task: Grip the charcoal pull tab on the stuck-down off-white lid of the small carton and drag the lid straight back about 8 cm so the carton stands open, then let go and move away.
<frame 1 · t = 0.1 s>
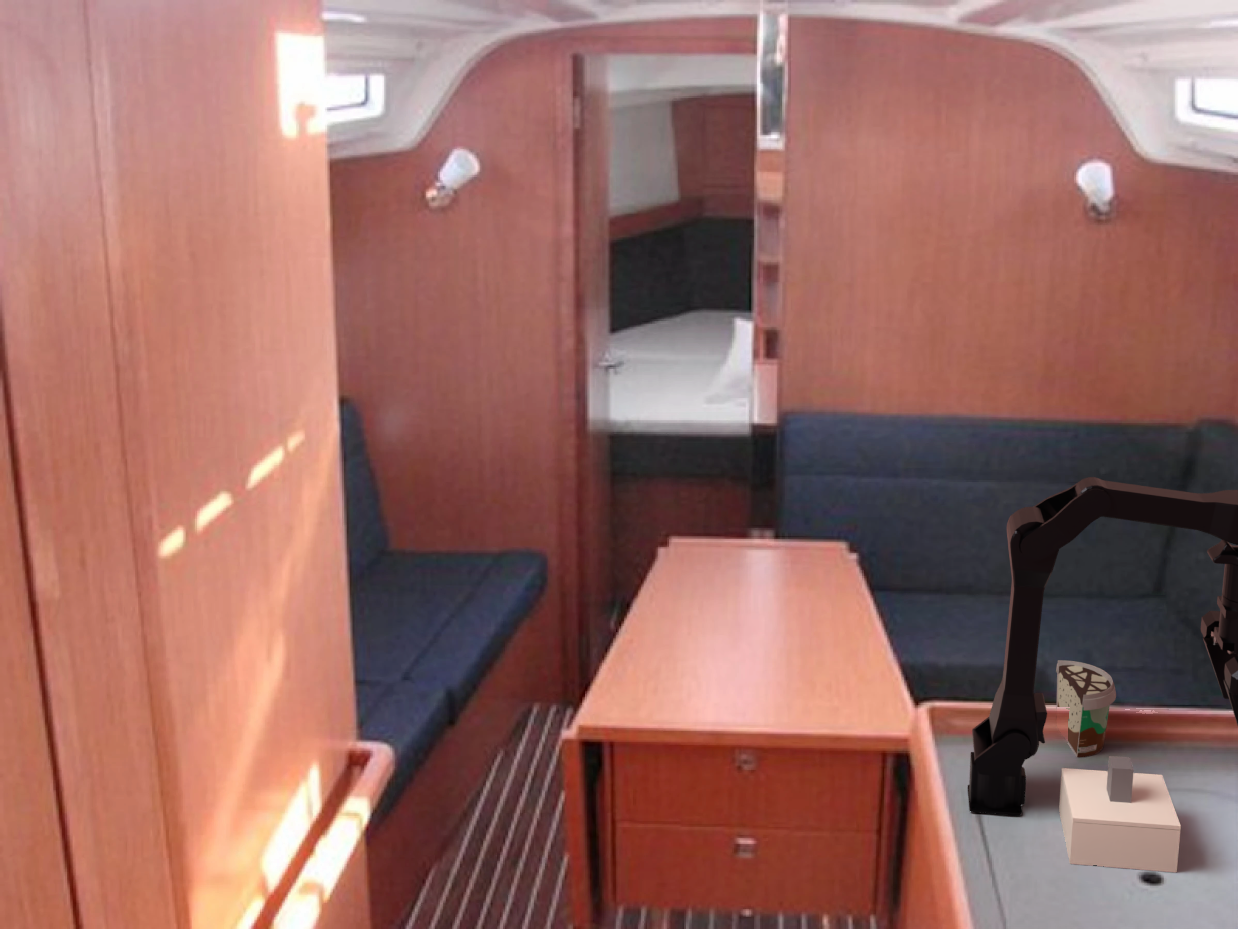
hand: (1236, 715, 160), 15 cm above the counter, tool pointing down, fingers open, 9 cm apart
lid: (1119, 781, 158), point 8 cm above the counter, slide at 0.0 cm
food container: (1088, 742, 185), on the counter
carton: (1115, 840, 160), on the counter
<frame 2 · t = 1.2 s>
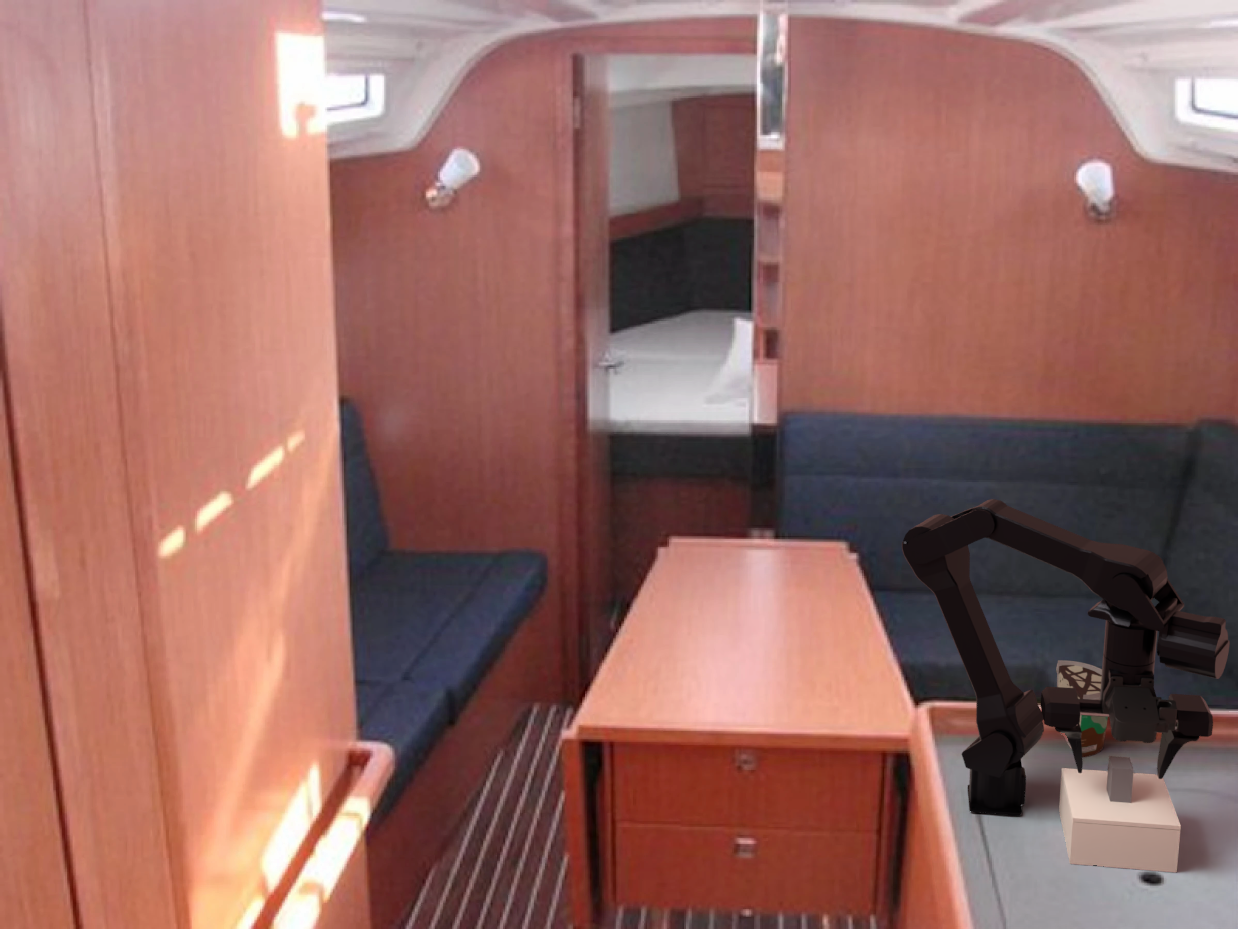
hand: (1119, 774, 158), 9 cm above the counter, tool pointing down, fingers open, 9 cm apart
nothing on the counter moved.
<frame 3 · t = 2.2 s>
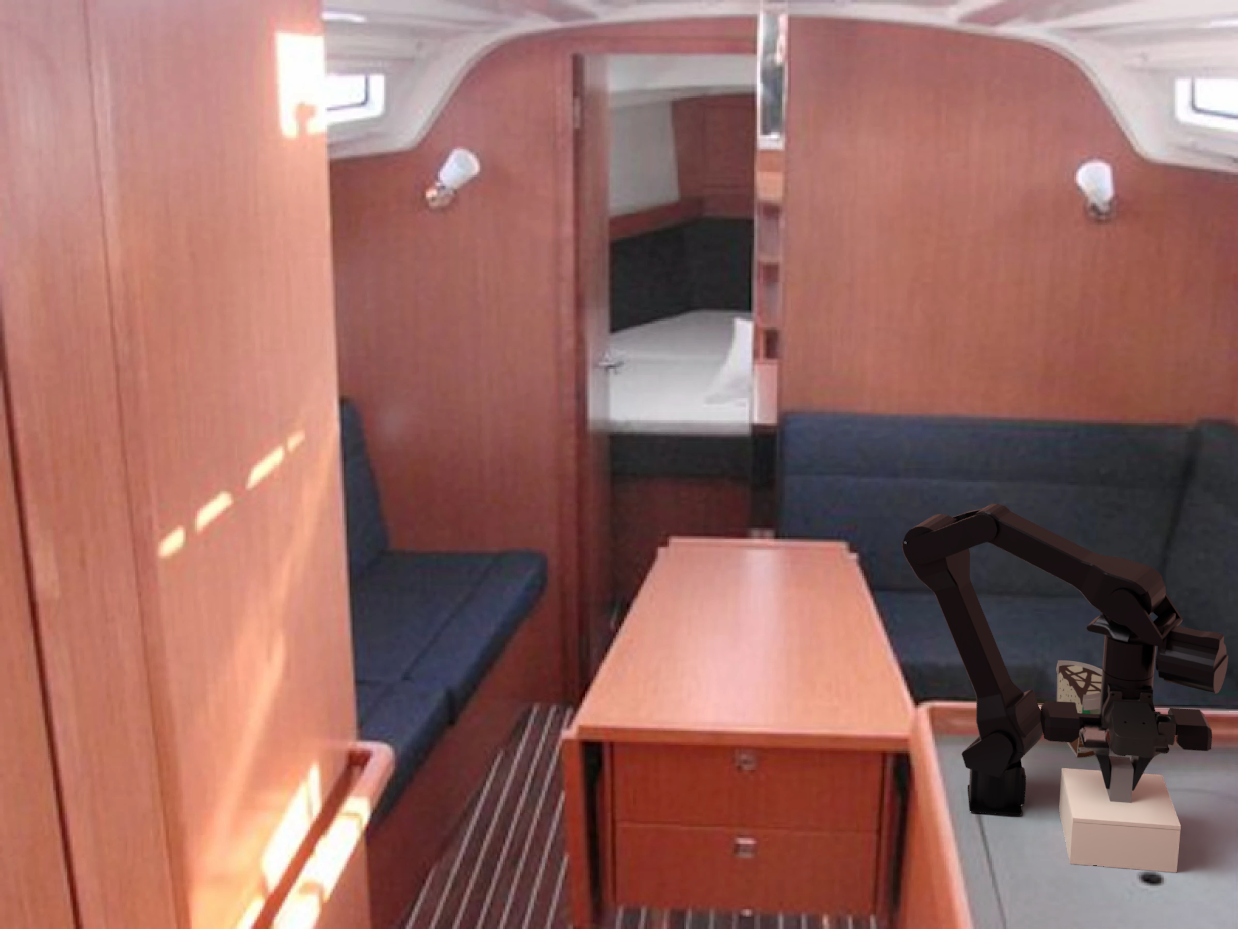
hand: (1119, 788, 159), 7 cm above the counter, tool pointing down, fingers closed on lid, 2 cm apart
lid: (1119, 781, 158), point 8 cm above the counter, slide at 0.0 cm, touching gripper
everything else where it was.
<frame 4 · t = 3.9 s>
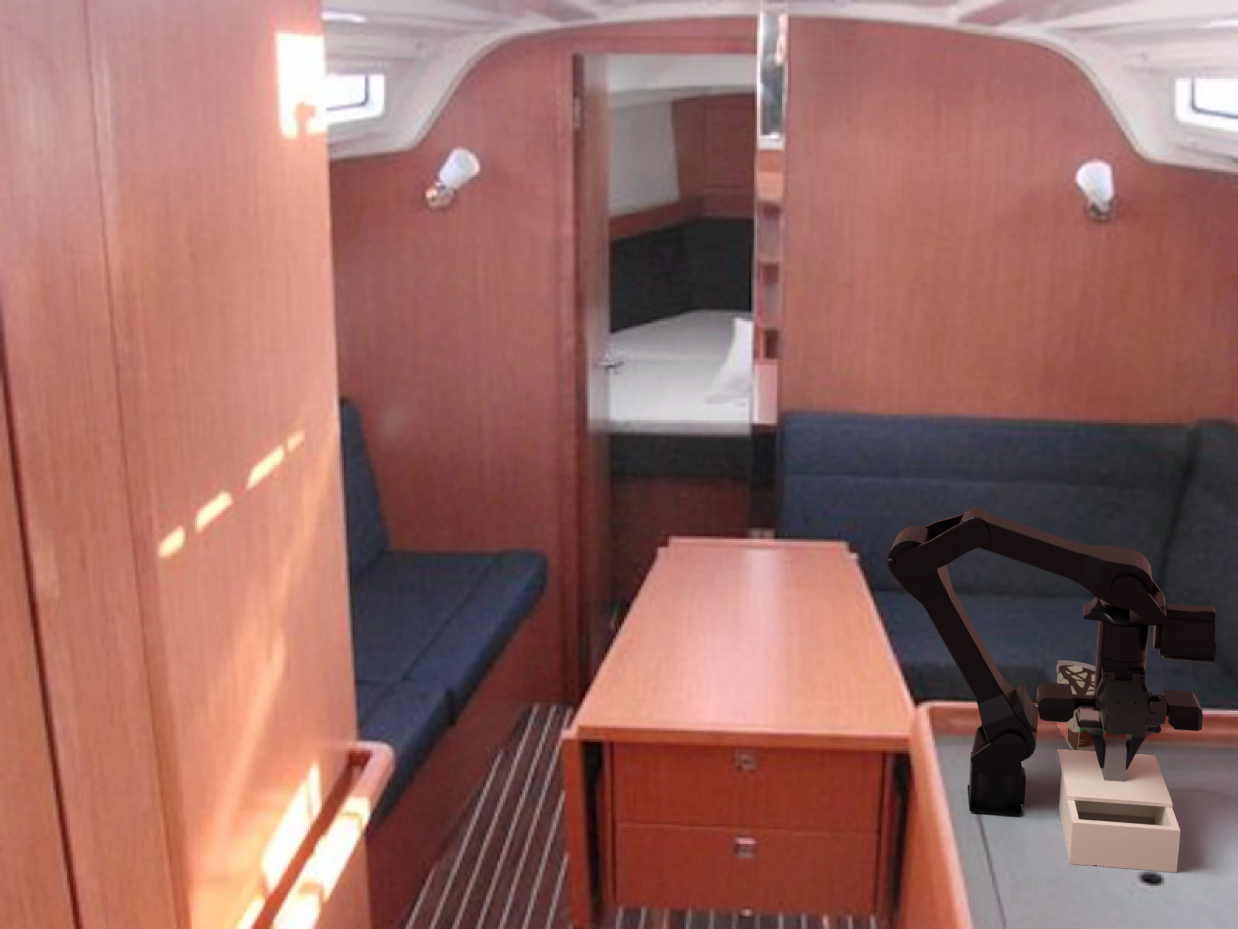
hand: (1113, 767, 163), 7 cm above the counter, tool pointing down, fingers closed on lid, 2 cm apart
lid: (1113, 760, 163), point 8 cm above the counter, slide at 5.1 cm, touching gripper
everything else where it was.
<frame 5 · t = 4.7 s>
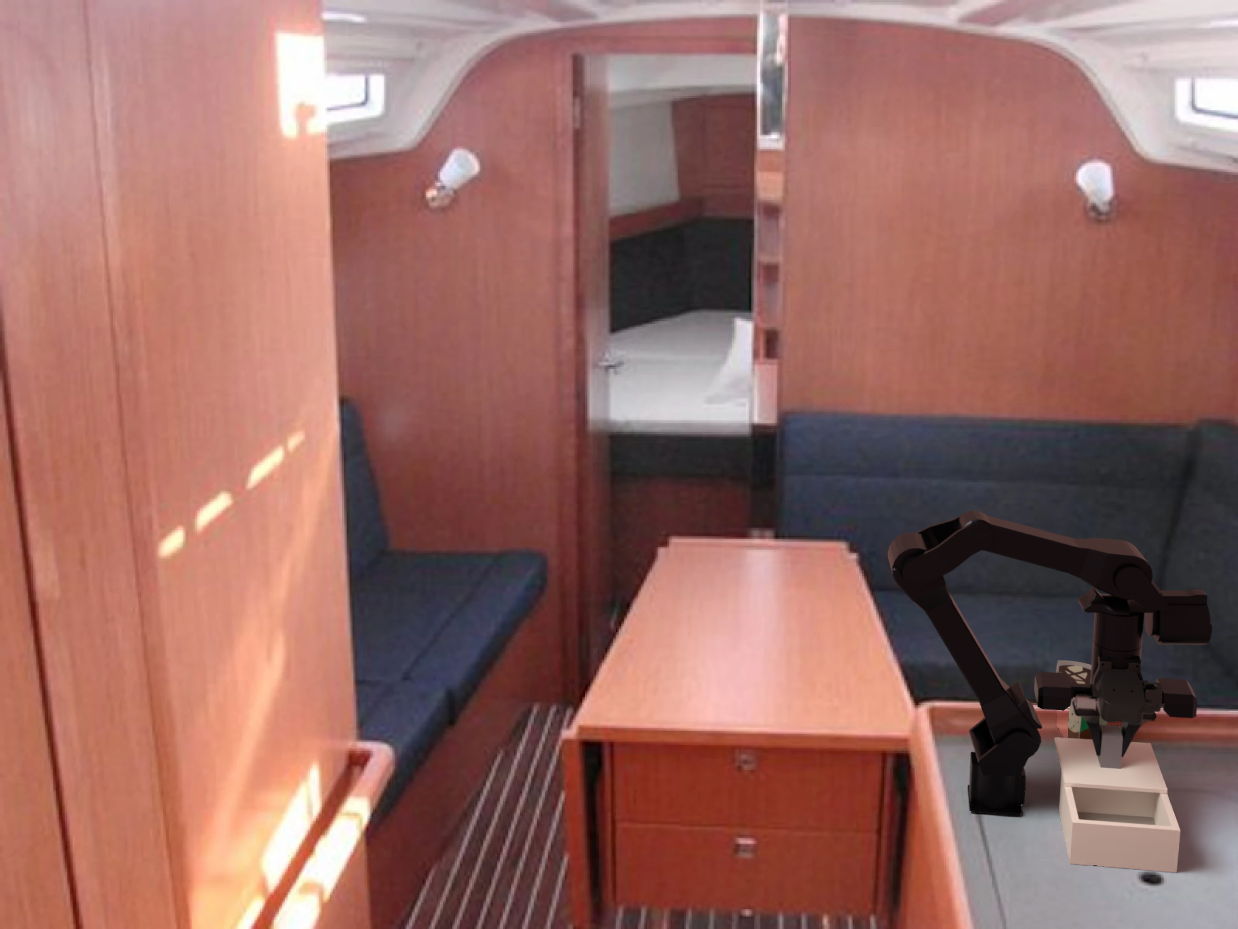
hand: (1109, 755, 166), 7 cm above the counter, tool pointing down, fingers closed on lid, 2 cm apart
lid: (1109, 748, 166), point 8 cm above the counter, slide at 8.3 cm, touching gripper
everything else where it was.
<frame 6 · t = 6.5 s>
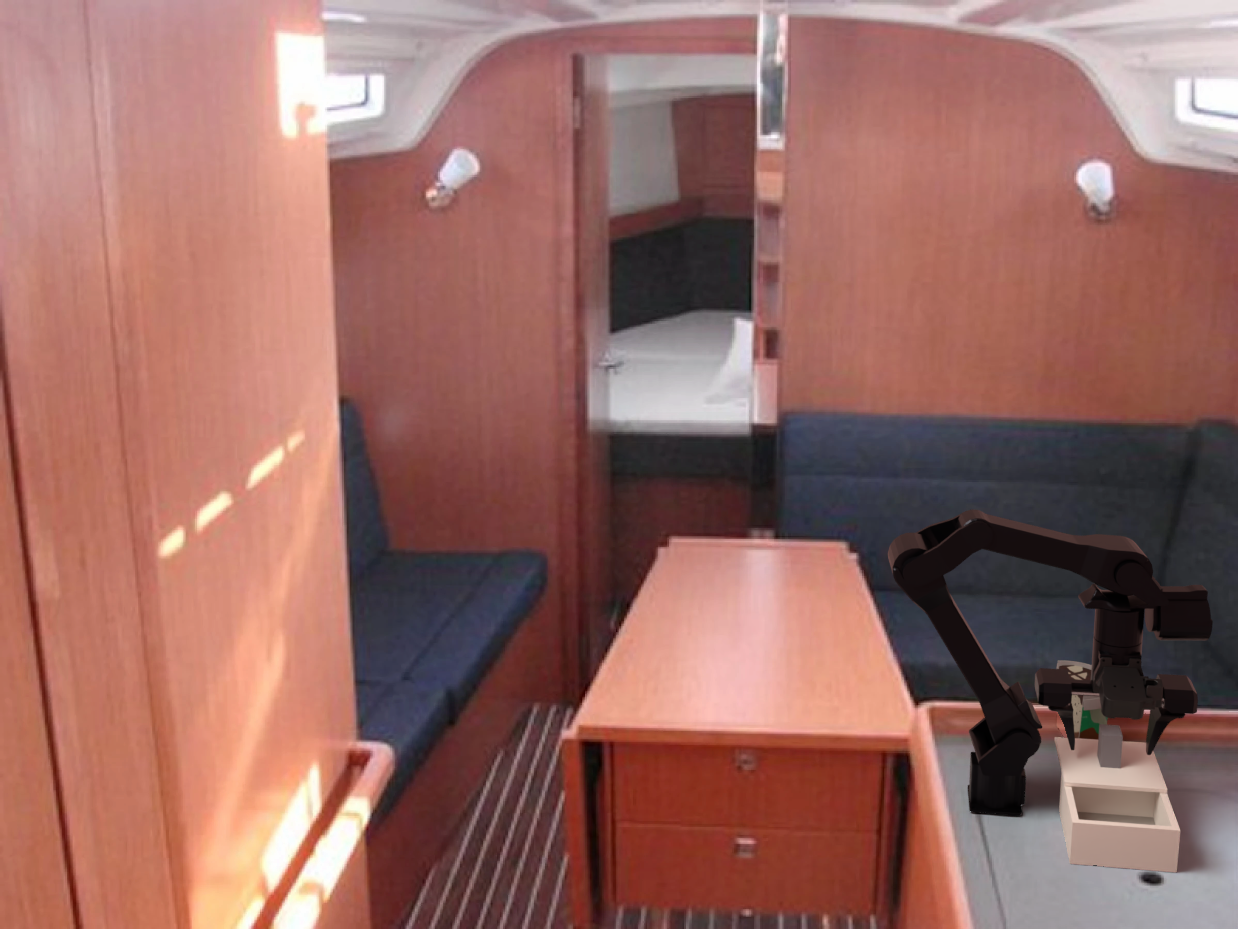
hand: (1109, 751, 166), 8 cm above the counter, tool pointing down, fingers open, 9 cm apart
lid: (1109, 748, 166), point 8 cm above the counter, slide at 8.4 cm
everything else where it was.
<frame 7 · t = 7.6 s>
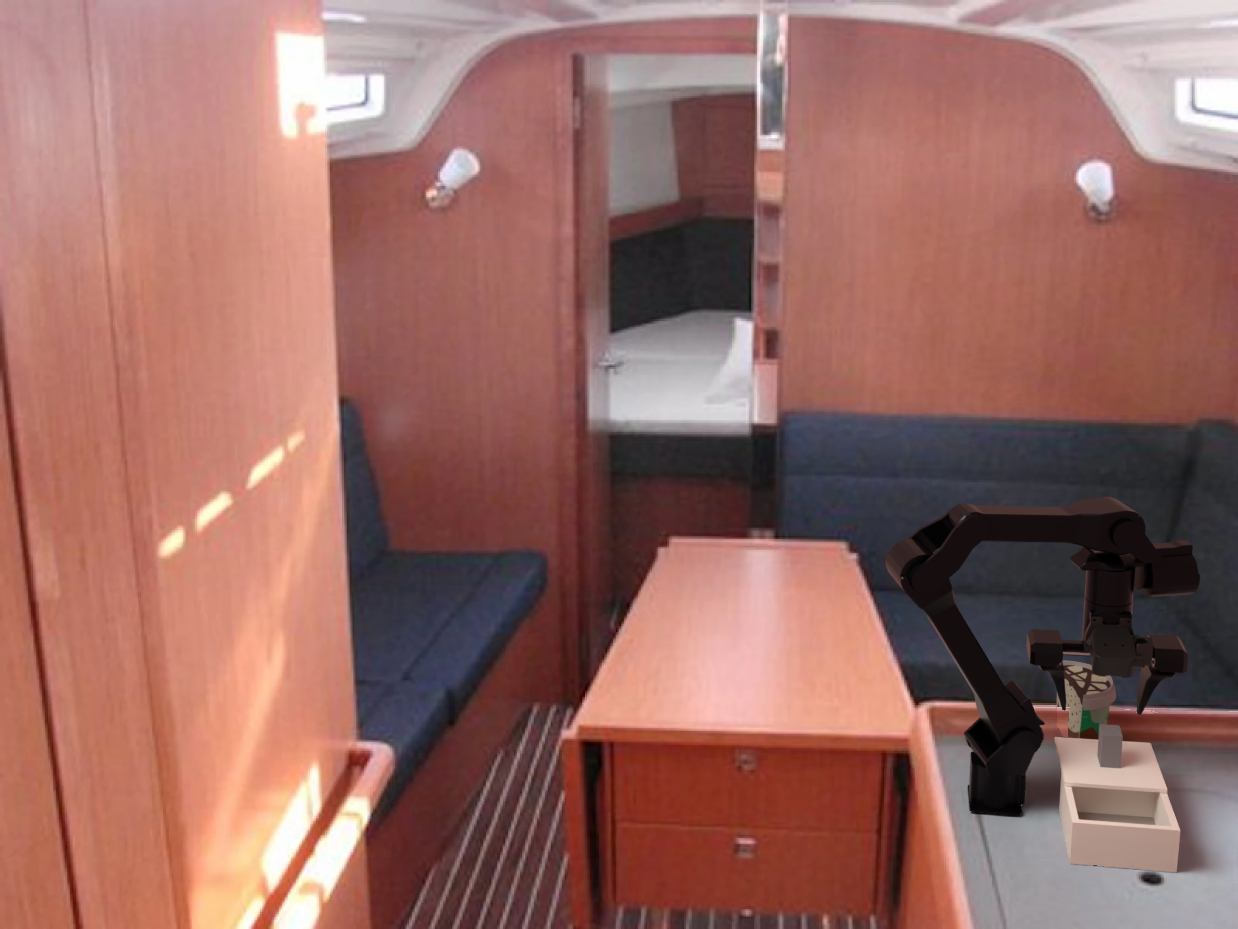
hand: (1100, 711, 168), 12 cm above the counter, tool pointing down, fingers open, 9 cm apart
nothing on the counter moved.
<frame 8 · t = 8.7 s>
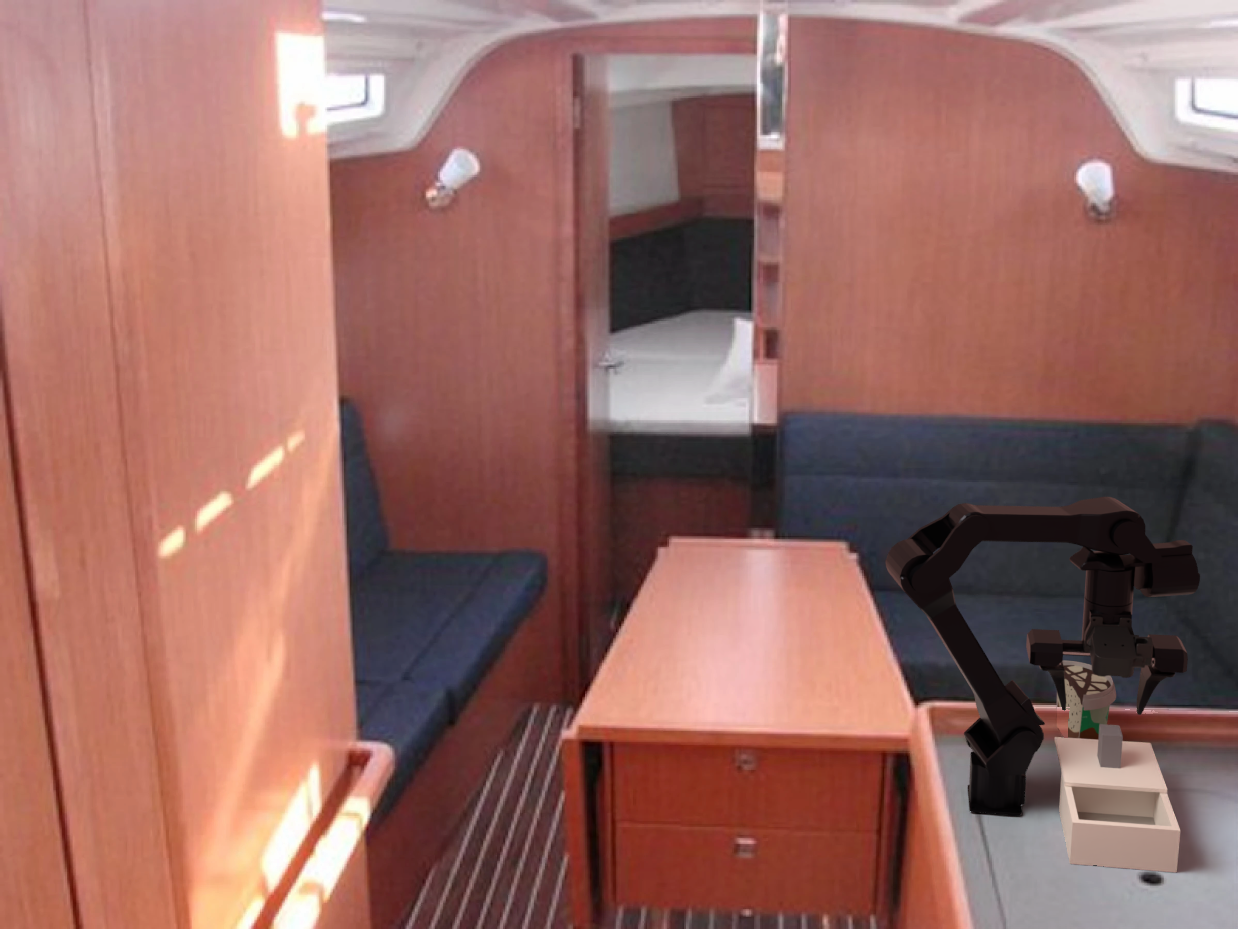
hand: (1100, 711, 168), 12 cm above the counter, tool pointing down, fingers open, 9 cm apart
nothing on the counter moved.
at the end: lid slide at 8.4 cm; food container moved 0.2 cm from its start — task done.
